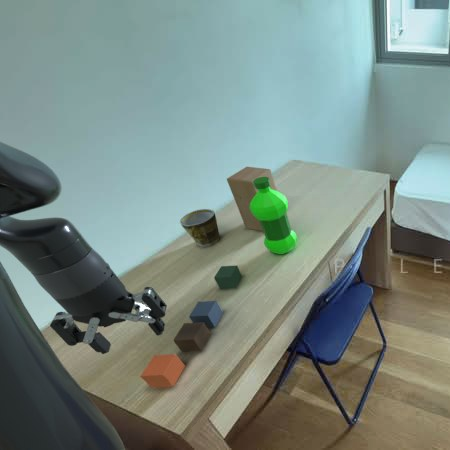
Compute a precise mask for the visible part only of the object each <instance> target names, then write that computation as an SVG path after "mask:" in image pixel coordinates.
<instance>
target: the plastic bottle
mask: <svg viewBox="0 0 450 450" xmlns="http://www.w3.org/2000/svg"><path fill="white" fill-rule="evenodd" d="M253 184H254V186H255V188H256V189H258V193H257V194H256V195H255V196H254V198H253V199H252V201H251V203H250V210H251V212H252V214H253V215H254V216H255V217H256V218H257V219H258V220H259V221H260V224H261V226H262V229H263V231H262V232H263V234H264V240H263V244H264V247H266V248H267V250H268V251H269V252H271V253H272V254H277V255H285V254H288V253H289V252H290V251H292V249H293V248H294V247H295V246H296V243H297V238H298V237H297V233H296V232H295V231H294V230H293V229H292V227H291V224H290V220H289V217H288V213H287V212H288V209H289V201H288V198H287V197H286V196H285V195H284V194H283V193H282V192H280V191H278V190H277V191H275V190H273V189H270V187H269V186H270V185H271V183H270V180H269V178H268V177H259V178H257V179H255V180H254V181H253Z"/></svg>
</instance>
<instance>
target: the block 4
mask: <svg viewBox="0 0 450 450" xmlns="http://www.w3.org/2000/svg"><path fill="white" fill-rule="evenodd" d="M213 279H214V281H215V283H216V284H217V287H218V288H219V290H235V289H237V288H238V287H239V285H240V283H241V281H242V279H243V274H242V272H241V271H240V268H239V265H221V266H220V267H219V269H218V270H217V271H216V274H215V275H214V277H213Z"/></svg>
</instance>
